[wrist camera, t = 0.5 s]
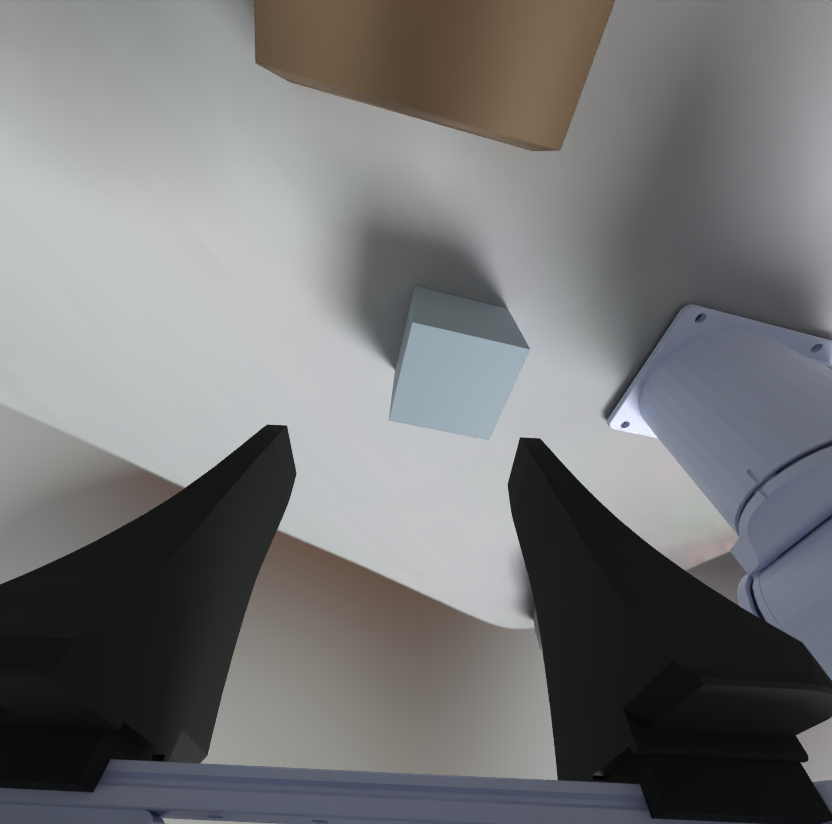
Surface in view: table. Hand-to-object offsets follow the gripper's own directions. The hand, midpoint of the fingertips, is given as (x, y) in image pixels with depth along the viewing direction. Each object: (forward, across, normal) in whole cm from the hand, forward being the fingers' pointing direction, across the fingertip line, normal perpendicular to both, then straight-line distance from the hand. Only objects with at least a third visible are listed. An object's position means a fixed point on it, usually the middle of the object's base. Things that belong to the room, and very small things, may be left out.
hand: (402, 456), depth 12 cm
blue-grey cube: (+10, -2, +1) cm, 11 cm away
